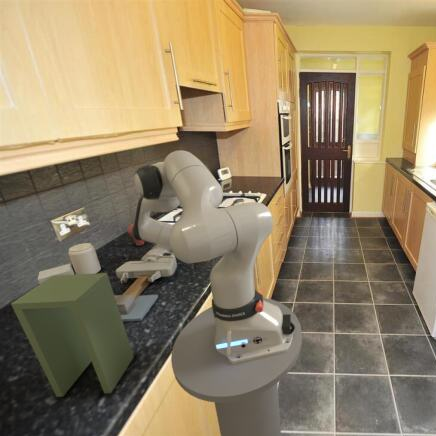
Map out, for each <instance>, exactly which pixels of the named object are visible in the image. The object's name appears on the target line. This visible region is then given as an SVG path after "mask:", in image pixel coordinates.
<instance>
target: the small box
mask: <svg viewBox="0 0 436 436" xmlns="http://www.w3.org/2000/svg"><path fill="white" fill-rule="evenodd" d="M73 269H74V268H73V266H72V265H71V263H67V264H63V265H60V266H55V267H52V268H48V269H44V270H40V271H39V272H38V276H37V282H38V285H39V284H41V283H42V282H44V281H45V280H47V279H48V278H50V277H51V276H54V275H75V271H74V270H73Z"/></svg>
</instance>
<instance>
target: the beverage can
mask: <svg viewBox="0 0 436 436" xmlns="http://www.w3.org/2000/svg"><path fill="white" fill-rule="evenodd" d="M68 256H69V259H70V261H71V264H72V268H73V269H74V270H73V271H74V273H75V274H97V273H99V272H100V271H101V270H102V267H101V264H100V261H99V257H98V254H97V252H96V249H95V246H94V245H93V244H92V243H90V242H84V243H79V244H75V245H72V246H71V247H69V248H68Z"/></svg>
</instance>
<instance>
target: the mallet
mask: <svg viewBox="0 0 436 436" xmlns="http://www.w3.org/2000/svg"><path fill="white" fill-rule="evenodd" d="M148 276H149V275H141V276H140V277H139V278H136V279H135V280H134V282H132V284H131V285H130V286H129V287H127V289H126V291H124V292H123V293H122V294H117V295H116V294H114V297H115V300H116V303H117V306H118V309H119V312H120V315H127V314H128V313H129V312H130V311H131V310H132V309H133V307H134V306H135V305H136V303H135V300H136V298H137V297H138V296H141V294H142V292H143V291H144V290H145V289H146V288H147V287H148V285H149V284H150V283H151V282H148Z"/></svg>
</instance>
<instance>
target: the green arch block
mask: <svg viewBox="0 0 436 436" xmlns="http://www.w3.org/2000/svg"><path fill="white" fill-rule="evenodd" d="M112 287H113V286H112V284H111V282H110V278H109V275H108V273H107V272H100V273H99V272H97V273H96V274H76V273H74V275H54V276H51V277H50V278H48V279H47V280H45V281H44V282H42V283H41V284H39V283H38V285H37V286H35V287H34V288H32V289H30V290H29V291H28V292H26V293H24V294H23V295H22V296H20V297H19V298H17V299H15V300H14V301H12V302H11V303H10V305H11V307H12V309H13V311H14V313H15V315H16V318H17V319H18V321H19V323H20V326H21V328H22V330H23V332H24V334H25V336H26V337H27V340H28V342H29V345H30V346H31V348H32V350H33V352H34V354H35V356H36V359H37V360H38V362H39V364H40V366H41V368H42V371H43V372H44V374H45V376H46V378H47V380H48V382H49V385H50V387H51V388H52V390H53V393H54V394H55V396H56V398H61V397H65V396H66V394H67V393H68V391H69V390H70V389H71V388H72V386H73V385H74V384H75V382H76V381H77V380H78V379H79V378H80V376H81V375H82V374H83V373H84V371H85V370H86V369H87V368H88V366H90V364H92V366H93V368H94V371H95V374H96V376H97V378H98V381H99V383H100V386H101V389H102V391H103V394H112V393H113V391H114V390H115V388H116V387H117V385H118V383H119V381H120V380H121V378H122V377H123V375H124V373H125V372H126V370H127V369H128V368H129V366H130V364H131V362H132V361H133V359H134V358H135V356H134V352H133V349H132V346H131V343H130V341H129V338H128V334H127V330H126V328H125V325H124V322H123V321H122V318H121V315H120V312H119V309H118V306H117V303H116V300H115V297H114V295H115V294H114V291H113V288H112Z"/></svg>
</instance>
